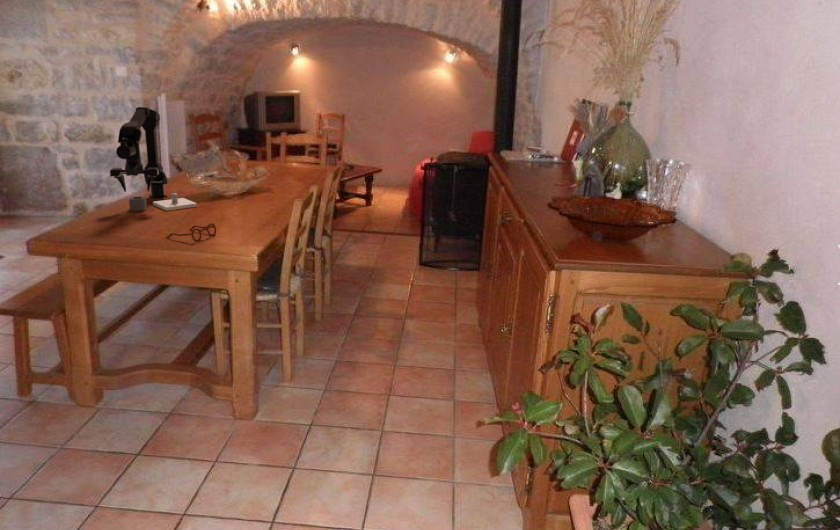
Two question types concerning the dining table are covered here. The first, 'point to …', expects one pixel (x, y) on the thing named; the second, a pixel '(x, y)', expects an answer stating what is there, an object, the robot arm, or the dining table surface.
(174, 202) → the base plate
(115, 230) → the dining table surface
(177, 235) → the glasses
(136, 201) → the grey box housing
